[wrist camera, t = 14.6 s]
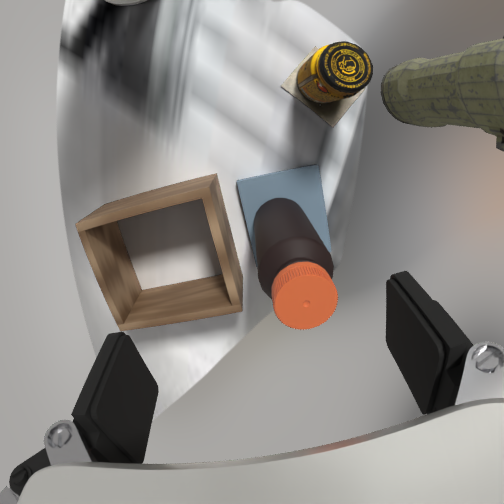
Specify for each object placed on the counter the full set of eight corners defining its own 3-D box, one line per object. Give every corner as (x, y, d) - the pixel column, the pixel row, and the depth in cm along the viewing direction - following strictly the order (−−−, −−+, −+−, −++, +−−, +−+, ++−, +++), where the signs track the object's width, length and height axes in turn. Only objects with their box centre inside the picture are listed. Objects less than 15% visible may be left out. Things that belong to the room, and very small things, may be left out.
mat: (236, 180, 41) (236, 181, 40) (316, 164, 40) (318, 165, 39) (256, 264, 45) (256, 267, 44) (329, 248, 45) (331, 251, 44)
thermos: (434, 62, 34) (650, 49, 2) (431, 139, 38) (654, 212, 6) (380, 47, 34) (605, -21, 1) (378, 129, 38) (627, 192, 6)
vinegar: (267, 187, 40) (287, 246, 22) (314, 210, 41) (366, 282, 23) (244, 233, 42) (245, 322, 24) (290, 254, 44) (320, 349, 25)
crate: (104, 204, 41) (75, 224, 33) (216, 173, 40) (209, 186, 32) (138, 296, 47) (120, 331, 39) (242, 276, 46) (242, 311, 38)
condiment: (315, 46, 34) (341, 20, 23) (365, 88, 36) (406, 79, 25) (280, 86, 36) (294, 71, 25) (332, 127, 38) (365, 130, 27)
